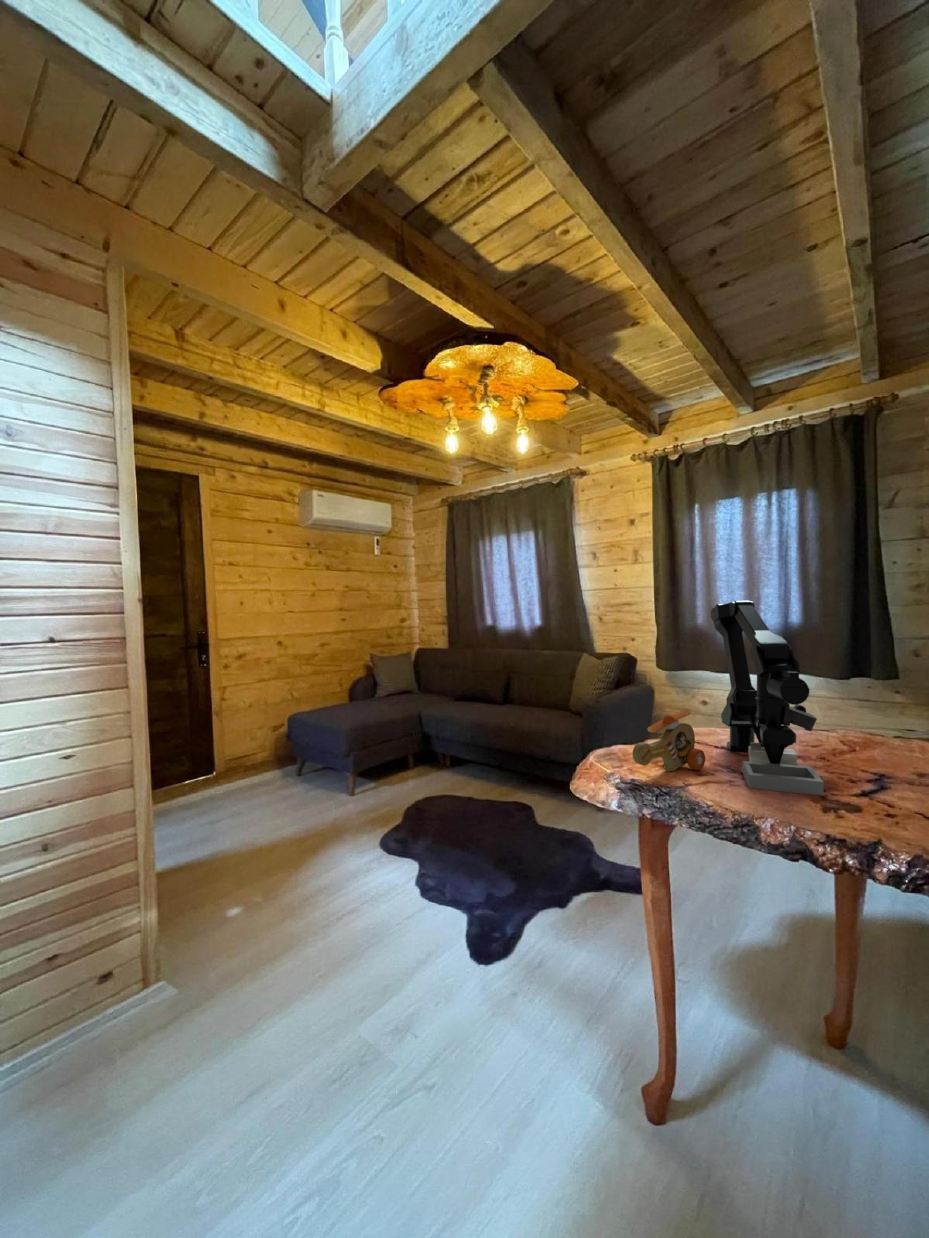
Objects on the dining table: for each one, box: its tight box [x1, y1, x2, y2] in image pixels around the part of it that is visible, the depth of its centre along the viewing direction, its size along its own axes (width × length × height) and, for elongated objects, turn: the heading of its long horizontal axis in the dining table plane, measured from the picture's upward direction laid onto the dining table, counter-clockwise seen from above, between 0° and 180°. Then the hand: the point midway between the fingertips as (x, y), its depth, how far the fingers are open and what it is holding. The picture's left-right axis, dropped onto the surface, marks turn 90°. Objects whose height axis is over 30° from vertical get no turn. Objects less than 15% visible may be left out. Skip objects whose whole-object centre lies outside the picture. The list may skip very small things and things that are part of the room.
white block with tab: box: [748, 741, 798, 766], centre depth 116 cm, size 4×9×6 cm, turn 68°
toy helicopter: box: [632, 709, 706, 772], centre depth 115 cm, size 8×21×14 cm, turn 123°
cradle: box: [742, 760, 824, 796], centre depth 107 cm, size 9×13×3 cm
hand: (771, 762), depth 116 cm, fingers open, 8 cm apart
